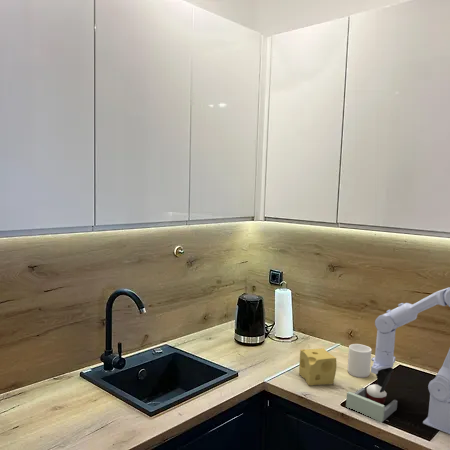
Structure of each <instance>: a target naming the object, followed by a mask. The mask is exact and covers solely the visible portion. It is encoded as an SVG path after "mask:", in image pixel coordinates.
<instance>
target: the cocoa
mask: <svg viewBox="0 0 450 450" xmlns="http://www.w3.org/2000/svg"><path fill="white" fill-rule="evenodd" d="M391 377H392V374H390V375H387V377H386V379H385V381H384V384H383V386H382V387H381V386H379V385H378V383H377V384H376V383H375V384H374V383H373V384H370V385H368V386H367V387H366V388H365V396H366V398H367V399H370V400H372V401H375V402H377V403H380V404H382V405H384V404H385V402H386V399H387V394H388V393H387V392H386V391H385V390H386V388H387V386H388V385H389V384H388V383H389V381H390V379H391Z"/></svg>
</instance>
